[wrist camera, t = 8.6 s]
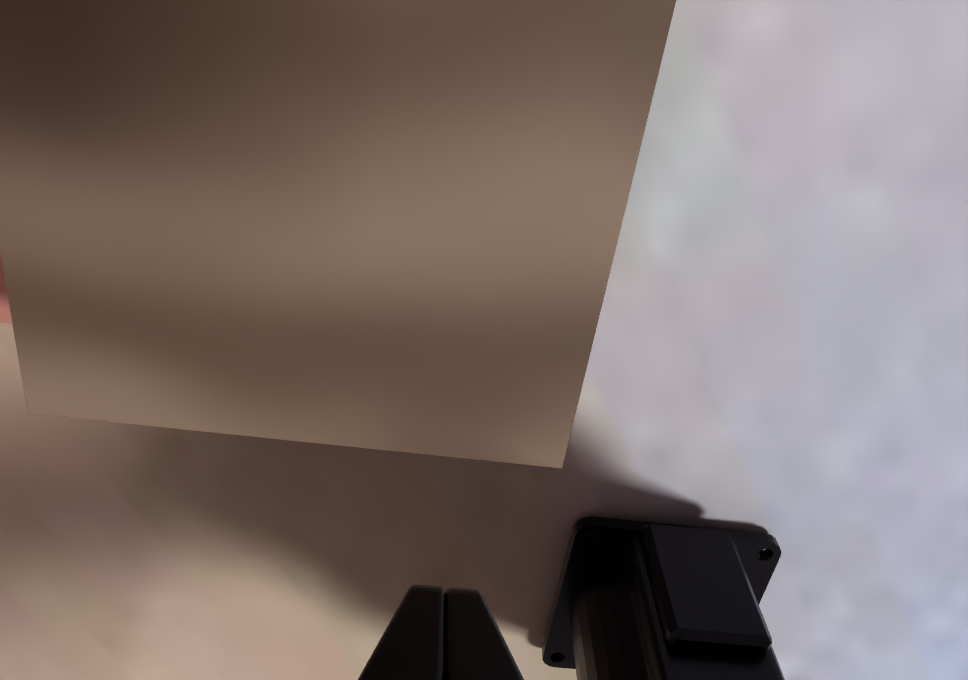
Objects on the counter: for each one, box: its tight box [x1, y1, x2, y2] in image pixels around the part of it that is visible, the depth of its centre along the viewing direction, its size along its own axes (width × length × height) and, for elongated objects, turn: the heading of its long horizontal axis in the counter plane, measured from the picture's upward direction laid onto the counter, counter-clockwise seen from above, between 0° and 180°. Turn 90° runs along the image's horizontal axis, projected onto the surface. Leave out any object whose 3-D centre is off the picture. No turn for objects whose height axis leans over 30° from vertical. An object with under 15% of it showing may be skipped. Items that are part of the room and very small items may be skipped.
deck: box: [0, 0, 676, 468], centre depth 16 cm, size 18×12×4 cm, turn 172°
